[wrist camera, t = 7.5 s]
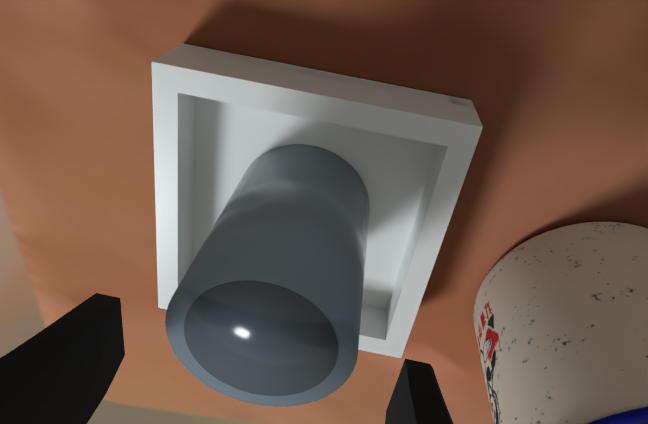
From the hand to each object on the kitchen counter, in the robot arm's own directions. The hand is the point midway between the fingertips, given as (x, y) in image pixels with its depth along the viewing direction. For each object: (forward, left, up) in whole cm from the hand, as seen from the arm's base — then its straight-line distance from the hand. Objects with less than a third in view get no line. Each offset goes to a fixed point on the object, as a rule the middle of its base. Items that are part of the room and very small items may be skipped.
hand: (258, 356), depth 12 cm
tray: (0, 0, -8) cm, 8 cm away
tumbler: (0, 0, -7) cm, 7 cm away
